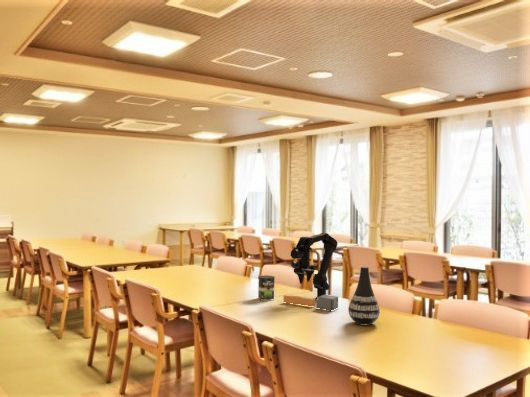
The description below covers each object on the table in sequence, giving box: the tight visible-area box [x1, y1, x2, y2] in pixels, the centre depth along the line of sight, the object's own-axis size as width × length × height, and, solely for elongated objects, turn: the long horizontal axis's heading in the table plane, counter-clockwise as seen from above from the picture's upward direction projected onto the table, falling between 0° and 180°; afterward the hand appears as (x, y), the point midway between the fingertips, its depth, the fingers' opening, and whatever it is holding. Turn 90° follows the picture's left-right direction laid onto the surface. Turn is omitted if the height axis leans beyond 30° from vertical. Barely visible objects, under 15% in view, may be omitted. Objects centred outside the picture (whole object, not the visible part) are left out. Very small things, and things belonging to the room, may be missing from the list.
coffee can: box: [257, 275, 275, 301], centre depth 306 cm, size 10×10×14 cm
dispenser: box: [315, 294, 339, 310], centre depth 281 cm, size 10×8×7 cm
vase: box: [348, 266, 381, 325], centre depth 251 cm, size 16×16×30 cm
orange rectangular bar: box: [282, 294, 316, 307], centre depth 291 cm, size 20×3×5 cm, turn 57°
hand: (304, 282), depth 298 cm, fingers open, 9 cm apart
